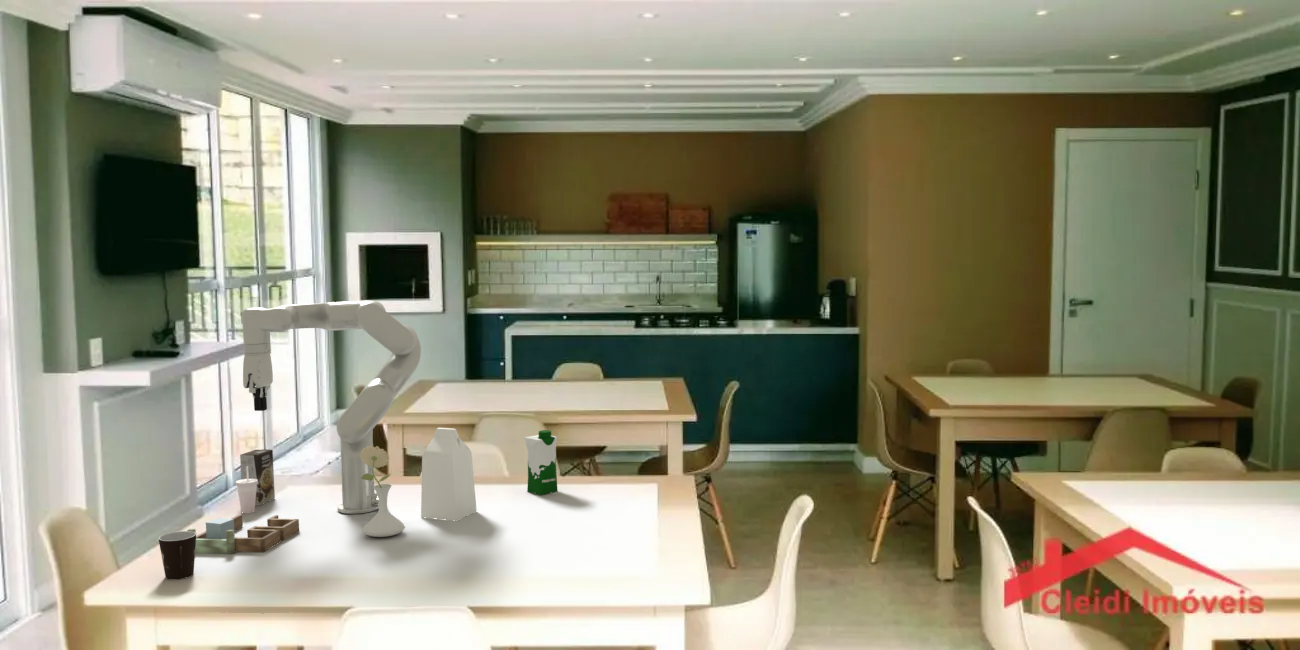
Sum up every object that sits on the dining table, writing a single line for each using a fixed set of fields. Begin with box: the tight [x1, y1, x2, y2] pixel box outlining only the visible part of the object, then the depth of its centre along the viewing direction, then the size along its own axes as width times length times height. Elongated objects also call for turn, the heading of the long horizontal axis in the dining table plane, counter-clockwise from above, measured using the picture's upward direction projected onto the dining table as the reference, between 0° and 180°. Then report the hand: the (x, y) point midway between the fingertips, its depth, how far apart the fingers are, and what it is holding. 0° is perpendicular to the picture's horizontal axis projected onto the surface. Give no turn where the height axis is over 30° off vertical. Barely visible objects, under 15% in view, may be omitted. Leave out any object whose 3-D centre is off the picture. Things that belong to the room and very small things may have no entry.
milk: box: [420, 427, 478, 522], centre depth 318 cm, size 12×12×26 cm
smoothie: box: [235, 466, 258, 514], centre depth 326 cm, size 6×6×14 cm
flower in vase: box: [360, 445, 406, 538], centre depth 298 cm, size 13×11×25 cm
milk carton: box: [524, 429, 559, 496], centre depth 345 cm, size 9×9×20 cm
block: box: [205, 517, 236, 539], centre depth 290 cm, size 5×5×7 cm
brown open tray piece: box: [186, 514, 300, 555], centre depth 296 cm, size 20×26×6 cm
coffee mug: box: [157, 530, 197, 580], centre depth 264 cm, size 12×9×10 cm
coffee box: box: [239, 448, 276, 506], centre depth 338 cm, size 9×6×16 cm
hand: (260, 410), depth 320 cm, fingers closed
